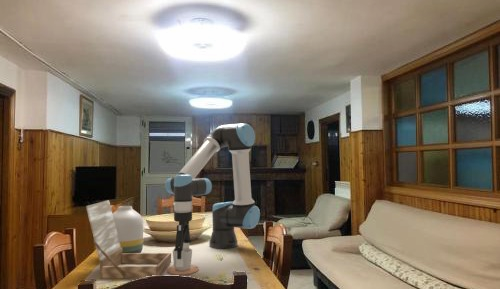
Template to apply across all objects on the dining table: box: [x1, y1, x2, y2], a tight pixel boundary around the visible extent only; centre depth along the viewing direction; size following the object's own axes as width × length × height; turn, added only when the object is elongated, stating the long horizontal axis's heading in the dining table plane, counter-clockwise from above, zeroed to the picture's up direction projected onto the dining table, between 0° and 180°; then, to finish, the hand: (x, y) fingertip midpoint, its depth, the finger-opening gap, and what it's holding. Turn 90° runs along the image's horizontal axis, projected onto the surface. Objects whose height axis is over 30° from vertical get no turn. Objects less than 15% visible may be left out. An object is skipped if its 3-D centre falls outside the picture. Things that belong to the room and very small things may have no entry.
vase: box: [112, 205, 144, 253], centre depth 182 cm, size 17×17×24 cm
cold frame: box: [85, 199, 172, 279], centre depth 159 cm, size 29×23×28 cm
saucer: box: [166, 264, 200, 276], centre depth 159 cm, size 13×13×1 cm
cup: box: [172, 247, 193, 271], centre depth 159 cm, size 11×8×8 cm
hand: (182, 262), depth 159 cm, fingers open, 13 cm apart
